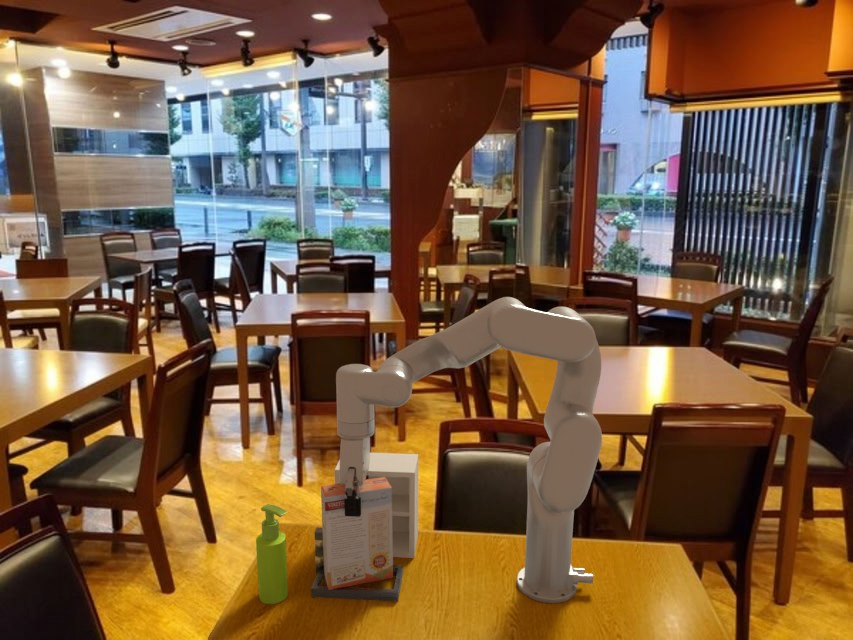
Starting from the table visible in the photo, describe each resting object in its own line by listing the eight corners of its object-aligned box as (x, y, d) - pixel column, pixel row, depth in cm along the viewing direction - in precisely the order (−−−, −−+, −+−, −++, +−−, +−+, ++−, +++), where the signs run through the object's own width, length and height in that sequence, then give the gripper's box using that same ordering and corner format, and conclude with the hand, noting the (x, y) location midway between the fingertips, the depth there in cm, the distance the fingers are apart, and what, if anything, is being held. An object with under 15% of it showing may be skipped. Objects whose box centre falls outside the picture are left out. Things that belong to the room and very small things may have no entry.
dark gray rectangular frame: (403, 572, 141) (403, 531, 139) (398, 601, 131) (398, 557, 129) (318, 568, 142) (316, 527, 140) (306, 596, 132) (305, 553, 130)
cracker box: (386, 563, 140) (386, 475, 136) (393, 579, 135) (393, 487, 131) (322, 574, 136) (320, 483, 132) (327, 591, 131) (324, 497, 126)
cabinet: (417, 534, 156) (418, 454, 152) (414, 558, 146) (414, 472, 142) (345, 531, 157) (343, 451, 153) (336, 554, 147) (334, 469, 143)
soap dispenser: (278, 609, 128) (274, 518, 124) (252, 598, 131) (248, 509, 127) (297, 593, 133) (294, 505, 129) (272, 583, 136) (268, 497, 132)
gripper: (345, 410, 137) (347, 484, 141) (328, 441, 120) (330, 524, 124) (380, 411, 137) (380, 485, 140) (367, 443, 120) (368, 526, 123)
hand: (357, 503), depth 132 cm, fingers open, 9 cm apart
